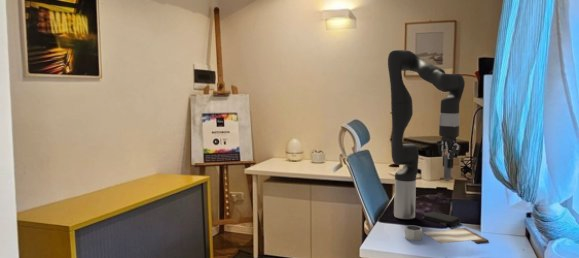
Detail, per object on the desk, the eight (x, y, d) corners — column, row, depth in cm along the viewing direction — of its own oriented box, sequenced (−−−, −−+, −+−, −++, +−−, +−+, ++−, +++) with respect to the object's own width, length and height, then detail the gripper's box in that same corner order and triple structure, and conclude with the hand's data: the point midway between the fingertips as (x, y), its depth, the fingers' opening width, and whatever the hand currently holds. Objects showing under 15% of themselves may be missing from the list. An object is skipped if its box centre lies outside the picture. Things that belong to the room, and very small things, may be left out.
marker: (442, 180, 186) (443, 150, 184) (448, 179, 186) (449, 150, 185) (446, 181, 183) (447, 151, 181) (452, 181, 184) (453, 151, 182)
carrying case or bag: (418, 221, 202) (450, 229, 192) (419, 215, 202) (450, 222, 191) (431, 216, 209) (462, 224, 199) (432, 210, 209) (462, 217, 198)
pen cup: (402, 238, 181) (402, 226, 180) (416, 237, 182) (416, 224, 181) (409, 243, 175) (410, 231, 174) (424, 242, 176) (424, 229, 175)
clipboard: (416, 233, 186) (416, 231, 186) (465, 229, 191) (465, 227, 190) (436, 247, 171) (436, 244, 171) (488, 242, 176) (488, 239, 176)
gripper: (431, 123, 188) (430, 164, 190) (450, 126, 174) (449, 171, 176) (447, 122, 190) (446, 163, 191) (468, 125, 176) (466, 170, 178)
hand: (447, 167), depth 184 cm, fingers closed on marker, 2 cm apart
